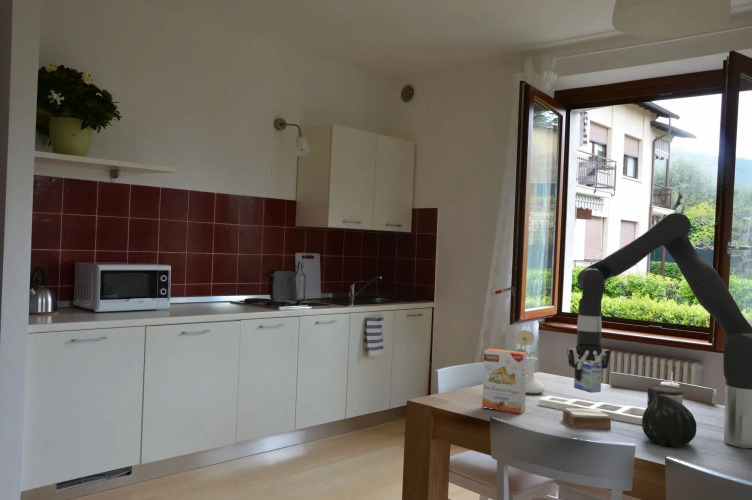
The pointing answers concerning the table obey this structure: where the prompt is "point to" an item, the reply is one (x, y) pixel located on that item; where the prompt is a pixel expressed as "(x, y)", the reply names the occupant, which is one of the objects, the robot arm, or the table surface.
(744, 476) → the table surface
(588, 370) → the medicine box
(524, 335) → the flower in vase
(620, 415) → the holder
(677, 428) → the squash
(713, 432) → the table surface
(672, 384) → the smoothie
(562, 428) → the table surface
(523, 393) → the cracker box
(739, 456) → the table surface
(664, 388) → the coffee can
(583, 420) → the plinth
